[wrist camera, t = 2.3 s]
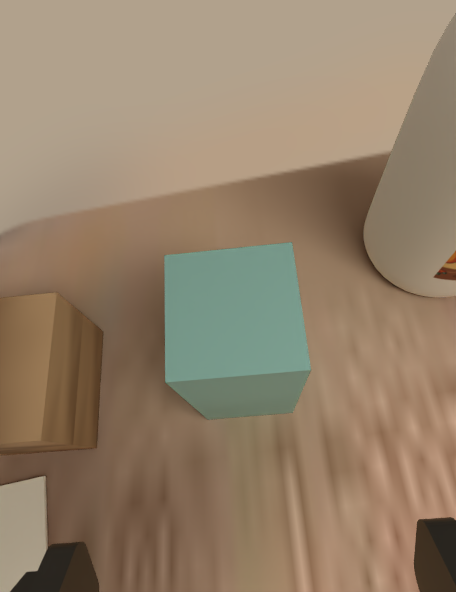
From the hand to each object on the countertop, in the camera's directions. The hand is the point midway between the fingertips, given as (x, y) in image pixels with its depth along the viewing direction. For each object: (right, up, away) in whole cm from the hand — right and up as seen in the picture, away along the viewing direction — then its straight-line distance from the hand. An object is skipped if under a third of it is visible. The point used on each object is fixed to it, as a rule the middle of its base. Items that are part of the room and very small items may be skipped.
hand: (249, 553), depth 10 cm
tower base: (-11, +1, +13) cm, 17 cm away
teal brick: (0, +2, +13) cm, 13 cm away
